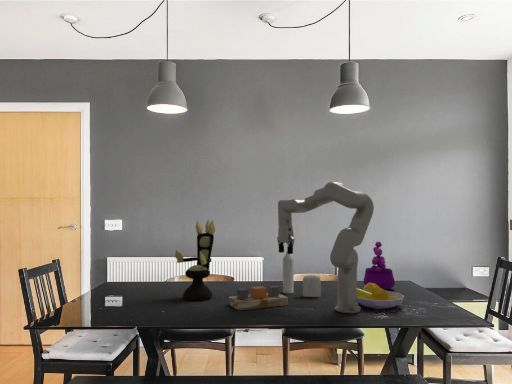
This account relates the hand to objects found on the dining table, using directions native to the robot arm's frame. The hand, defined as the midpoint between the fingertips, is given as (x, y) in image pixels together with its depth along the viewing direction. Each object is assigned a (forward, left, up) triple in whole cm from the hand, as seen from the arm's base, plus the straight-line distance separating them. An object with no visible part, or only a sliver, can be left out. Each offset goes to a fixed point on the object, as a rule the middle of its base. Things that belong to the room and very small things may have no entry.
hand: (285, 253), depth 223 cm
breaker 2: (-2, +9, -23) cm, 25 cm away
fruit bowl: (-29, -37, -27) cm, 54 cm away
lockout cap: (-2, +18, -22) cm, 28 cm away
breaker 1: (-2, +27, -23) cm, 35 cm away
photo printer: (+3, -18, -27) cm, 32 cm away
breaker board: (-2, +18, -26) cm, 32 cm away
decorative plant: (+3, -67, -27) cm, 73 cm away
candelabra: (+28, +42, -27) cm, 57 cm away
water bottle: (+19, -10, -26) cm, 34 cm away
